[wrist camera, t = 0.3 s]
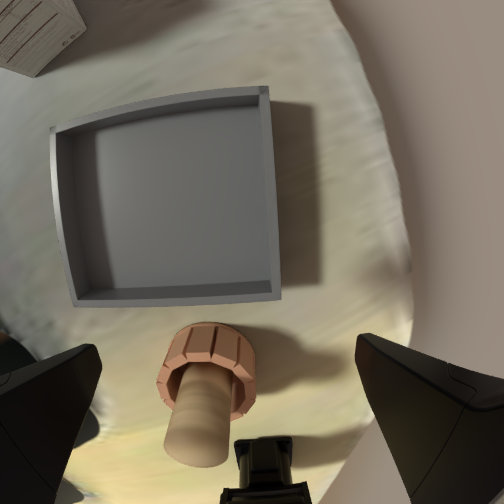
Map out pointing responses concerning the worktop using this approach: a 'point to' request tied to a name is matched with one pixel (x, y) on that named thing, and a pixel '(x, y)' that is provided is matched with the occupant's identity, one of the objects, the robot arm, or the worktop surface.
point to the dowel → (201, 416)
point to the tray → (169, 201)
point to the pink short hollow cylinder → (211, 350)
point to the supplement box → (36, 32)
